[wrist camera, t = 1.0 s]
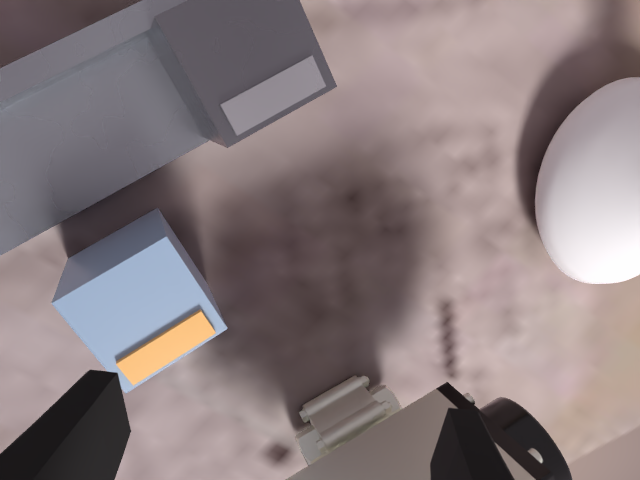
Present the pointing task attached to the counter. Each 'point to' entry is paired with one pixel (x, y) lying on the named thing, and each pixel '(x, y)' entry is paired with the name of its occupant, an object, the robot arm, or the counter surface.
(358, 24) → the counter surface
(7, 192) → the rail
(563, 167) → the flower in vase
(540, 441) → the pneumatic valve
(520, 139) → the counter surface
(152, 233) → the block
